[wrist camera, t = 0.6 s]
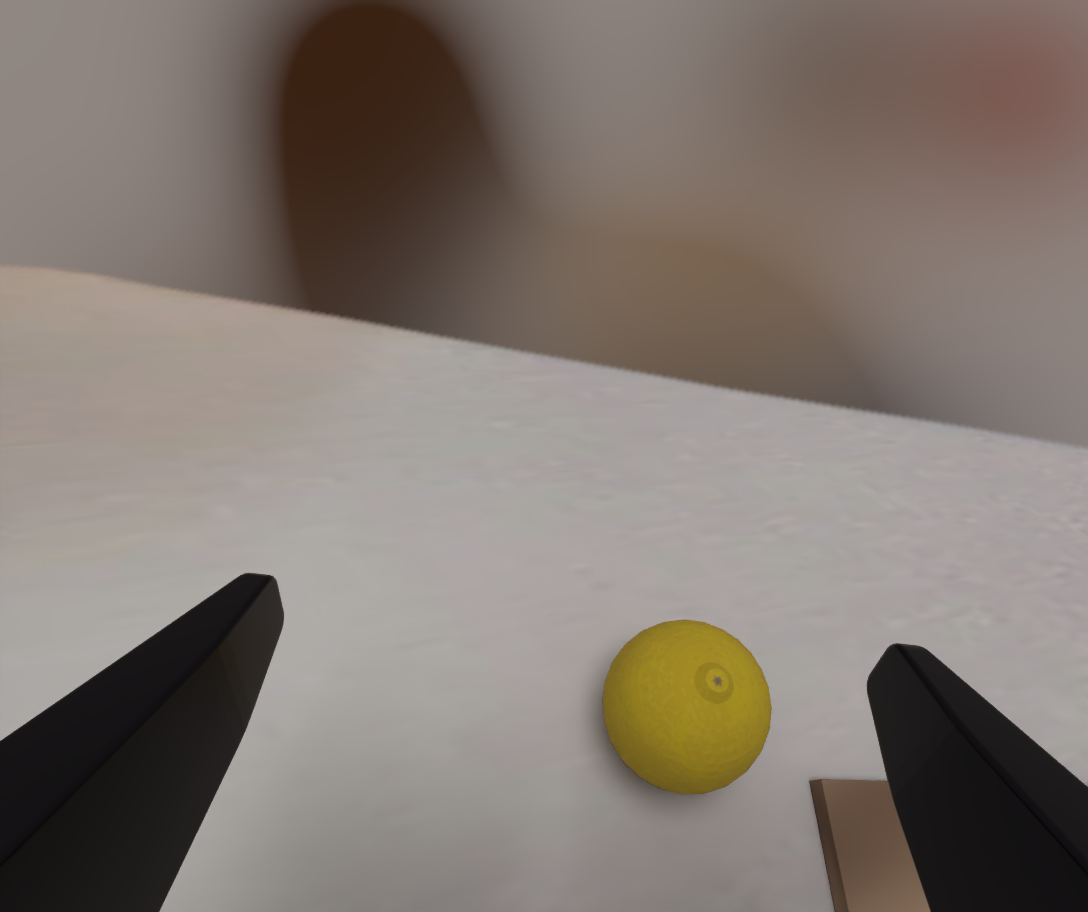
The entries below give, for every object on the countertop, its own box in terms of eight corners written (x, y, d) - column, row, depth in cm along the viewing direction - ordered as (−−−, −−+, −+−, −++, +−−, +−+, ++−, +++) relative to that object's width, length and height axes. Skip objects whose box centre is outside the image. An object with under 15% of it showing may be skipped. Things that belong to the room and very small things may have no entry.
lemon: (562, 705, 24) (588, 658, 17) (659, 627, 26) (716, 558, 19) (651, 833, 22) (720, 835, 15) (750, 737, 24) (850, 702, 17)
